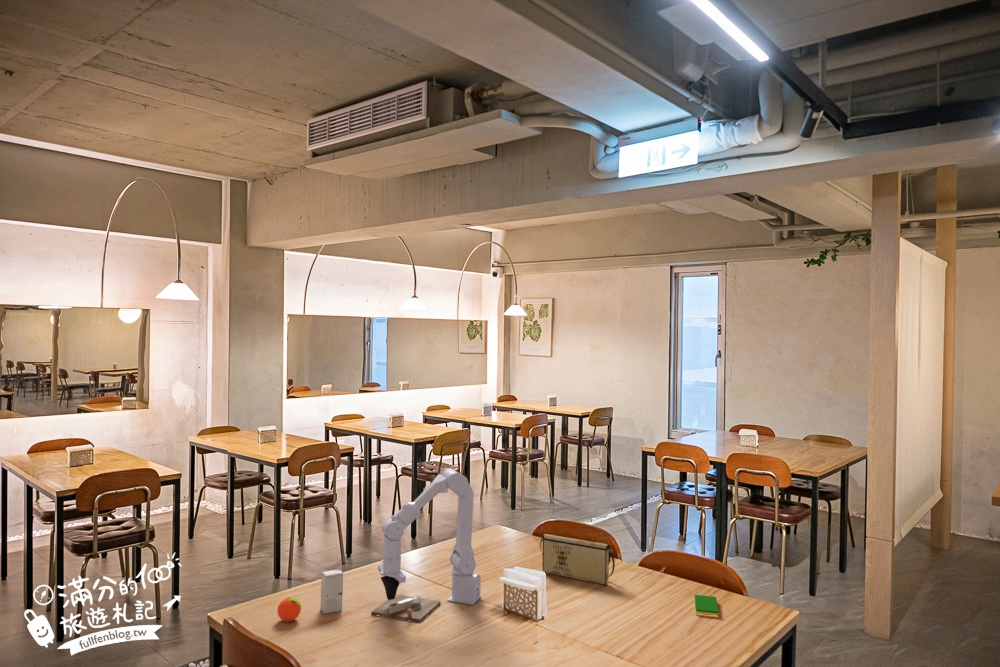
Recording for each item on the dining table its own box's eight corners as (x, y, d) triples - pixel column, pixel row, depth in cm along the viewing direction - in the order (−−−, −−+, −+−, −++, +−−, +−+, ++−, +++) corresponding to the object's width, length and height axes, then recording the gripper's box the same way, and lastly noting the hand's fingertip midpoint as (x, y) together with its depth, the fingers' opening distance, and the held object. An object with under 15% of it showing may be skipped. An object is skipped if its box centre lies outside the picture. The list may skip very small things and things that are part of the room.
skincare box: (324, 614, 212) (325, 575, 212) (319, 609, 215) (320, 571, 216) (343, 610, 215) (343, 572, 215) (338, 605, 219) (339, 568, 219)
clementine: (308, 618, 208) (308, 595, 208) (294, 627, 202) (294, 603, 202) (286, 614, 211) (287, 592, 211) (272, 623, 204) (272, 599, 204)
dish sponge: (716, 603, 227) (716, 596, 227) (718, 619, 214) (718, 611, 214) (694, 601, 229) (694, 594, 229) (695, 616, 216) (695, 609, 216)
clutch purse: (617, 582, 246) (617, 541, 246) (610, 587, 240) (611, 546, 240) (544, 567, 260) (545, 529, 261) (536, 573, 254) (537, 533, 255)
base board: (440, 604, 222) (440, 594, 222) (419, 622, 206) (419, 612, 206) (394, 597, 227) (394, 587, 227) (371, 615, 212) (371, 604, 212)
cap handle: (415, 601, 219) (416, 594, 219) (422, 605, 217) (423, 597, 217) (386, 611, 211) (386, 604, 211) (393, 615, 208) (393, 607, 208)
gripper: (370, 553, 221) (369, 594, 220) (392, 565, 210) (391, 608, 209) (389, 549, 225) (388, 590, 225) (411, 560, 214) (410, 603, 214)
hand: (390, 598), depth 217 cm, fingers closed
